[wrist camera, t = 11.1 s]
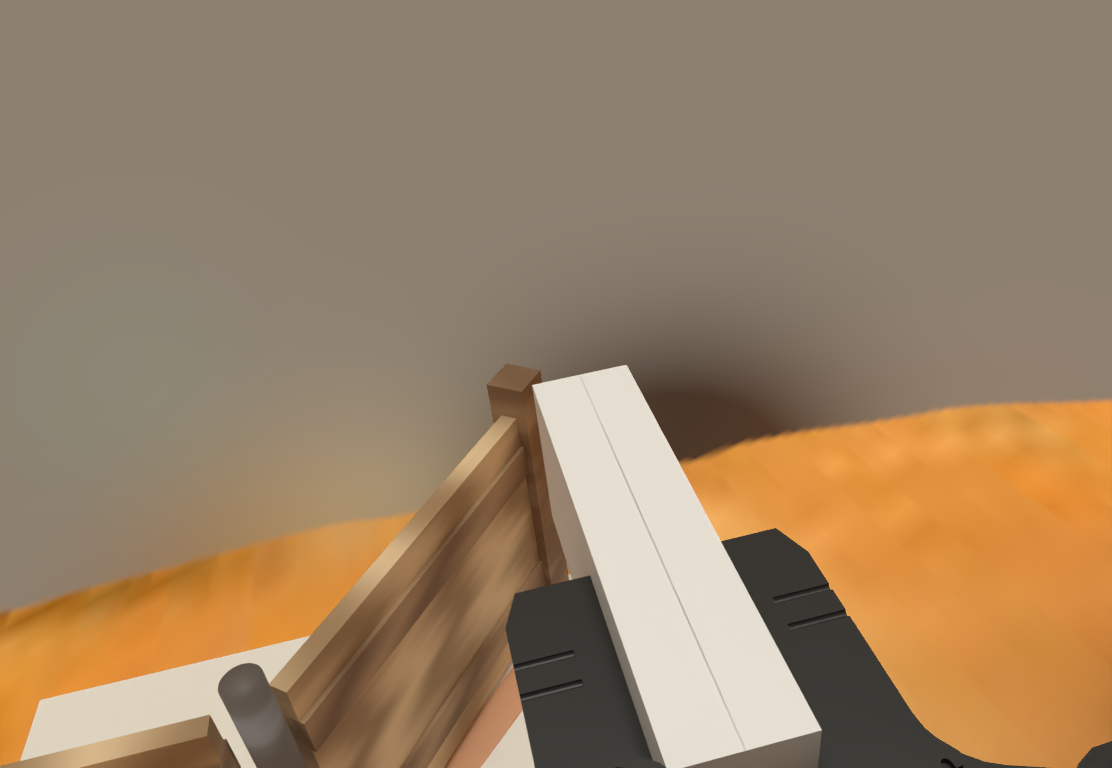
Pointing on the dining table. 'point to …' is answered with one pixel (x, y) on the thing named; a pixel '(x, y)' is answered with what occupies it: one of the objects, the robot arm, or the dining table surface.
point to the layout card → (192, 691)
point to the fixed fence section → (148, 750)
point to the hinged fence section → (417, 617)
